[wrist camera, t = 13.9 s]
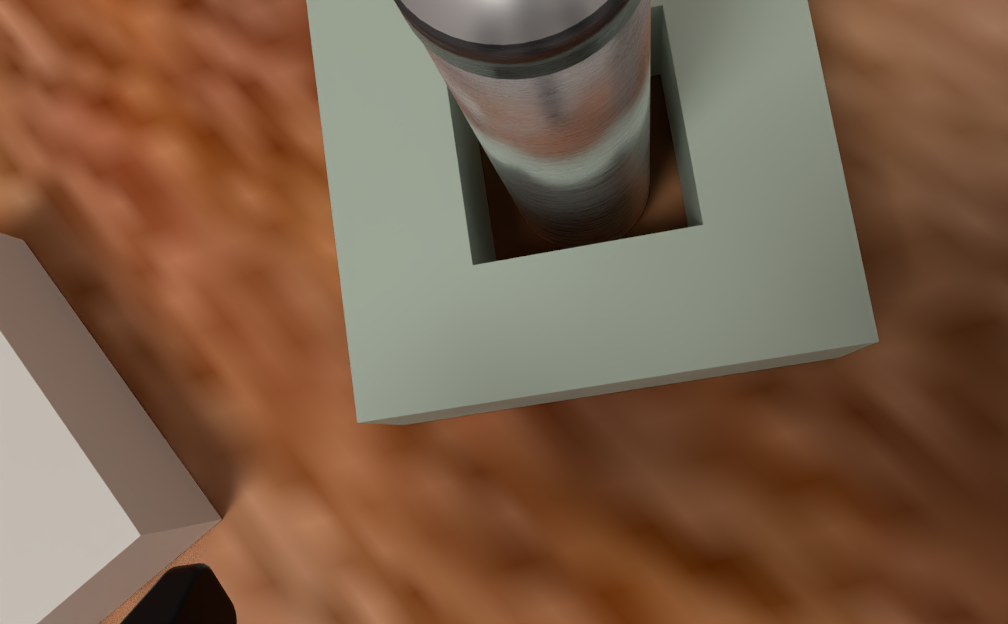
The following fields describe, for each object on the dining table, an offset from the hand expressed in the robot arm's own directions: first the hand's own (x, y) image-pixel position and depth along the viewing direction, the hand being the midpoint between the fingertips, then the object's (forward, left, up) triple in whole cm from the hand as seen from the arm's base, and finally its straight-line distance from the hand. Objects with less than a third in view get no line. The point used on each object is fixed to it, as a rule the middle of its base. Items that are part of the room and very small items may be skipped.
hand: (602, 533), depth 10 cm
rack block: (+4, -7, -13) cm, 15 cm away
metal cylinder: (+4, -7, -13) cm, 15 cm away
